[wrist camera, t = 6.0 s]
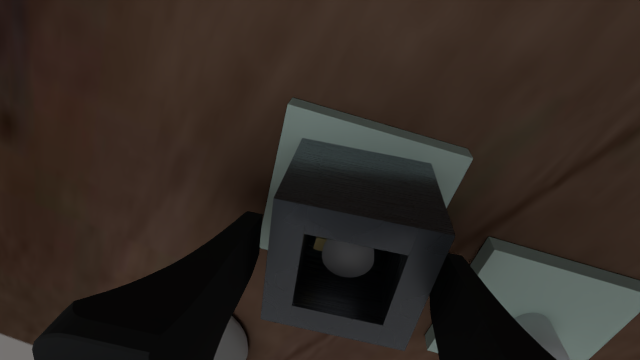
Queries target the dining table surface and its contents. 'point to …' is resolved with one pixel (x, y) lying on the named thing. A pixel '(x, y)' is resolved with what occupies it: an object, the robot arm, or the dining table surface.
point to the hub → (360, 229)
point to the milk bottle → (232, 343)
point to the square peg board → (555, 298)
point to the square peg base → (366, 136)
